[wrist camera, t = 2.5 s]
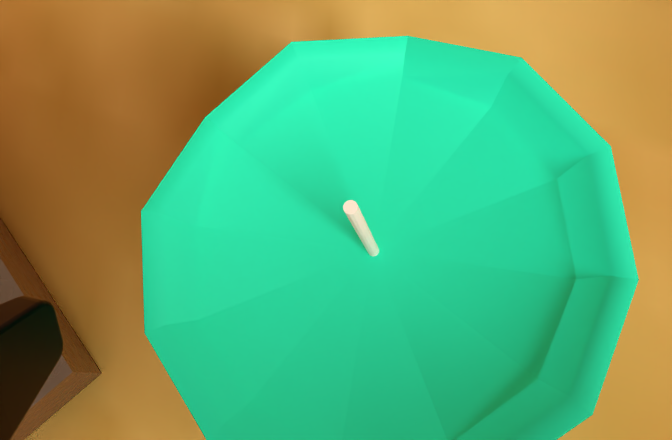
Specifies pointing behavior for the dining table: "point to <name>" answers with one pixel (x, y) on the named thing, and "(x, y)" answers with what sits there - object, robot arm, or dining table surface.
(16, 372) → the robot arm
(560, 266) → the candle
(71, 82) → the dining table surface
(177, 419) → the dining table surface
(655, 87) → the dining table surface
